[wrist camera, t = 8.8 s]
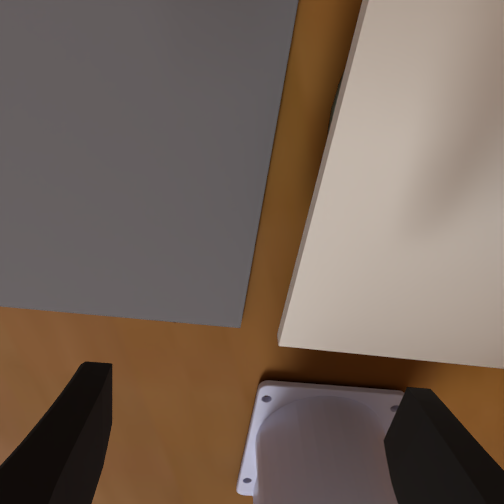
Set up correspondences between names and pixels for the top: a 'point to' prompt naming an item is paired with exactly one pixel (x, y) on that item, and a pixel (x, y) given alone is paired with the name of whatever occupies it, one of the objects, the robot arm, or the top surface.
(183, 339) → the top surface
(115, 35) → the mat
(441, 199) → the lid
